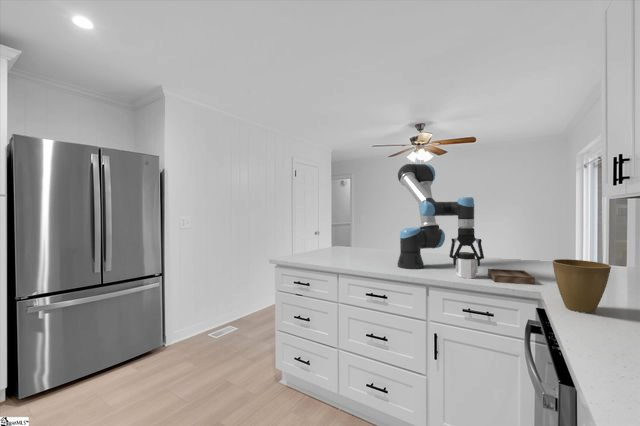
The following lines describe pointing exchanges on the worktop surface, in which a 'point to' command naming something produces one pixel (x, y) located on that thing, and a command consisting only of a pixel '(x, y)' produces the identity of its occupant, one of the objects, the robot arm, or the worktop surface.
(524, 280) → the wooden tray
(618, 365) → the worktop surface
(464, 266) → the jar
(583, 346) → the worktop surface
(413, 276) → the worktop surface
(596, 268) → the plant pot
